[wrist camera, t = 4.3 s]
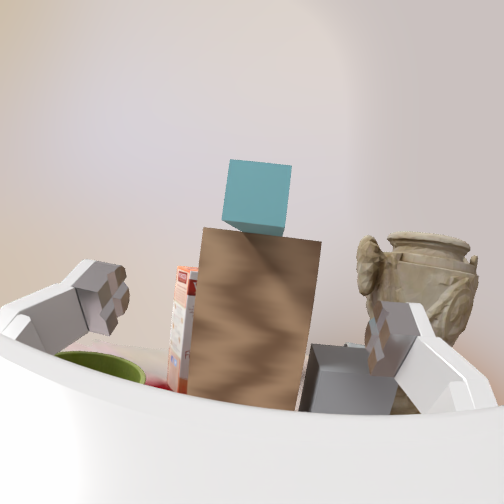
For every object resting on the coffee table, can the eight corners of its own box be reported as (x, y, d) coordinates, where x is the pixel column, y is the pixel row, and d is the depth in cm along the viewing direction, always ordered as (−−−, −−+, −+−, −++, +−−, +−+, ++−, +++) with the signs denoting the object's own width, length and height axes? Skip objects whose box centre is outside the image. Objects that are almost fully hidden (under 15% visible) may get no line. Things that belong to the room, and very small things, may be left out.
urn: (409, 391, 55) (437, 246, 55) (471, 427, 37) (512, 249, 37) (305, 404, 49) (334, 226, 49) (360, 464, 32) (412, 221, 31)
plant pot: (144, 434, 34) (145, 356, 34) (149, 496, 23) (146, 406, 23) (56, 423, 30) (49, 343, 30) (35, 480, 19) (13, 386, 19)
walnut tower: (182, 491, 25) (203, 227, 24) (206, 435, 37) (227, 235, 36) (271, 505, 24) (321, 241, 24) (274, 445, 36) (307, 245, 36)
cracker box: (178, 400, 45) (189, 269, 45) (166, 384, 50) (175, 264, 50) (252, 391, 53) (268, 275, 53) (235, 378, 58) (249, 270, 58)
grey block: (286, 507, 24) (321, 370, 24) (286, 464, 32) (311, 343, 32) (353, 507, 23) (400, 375, 23) (342, 466, 31) (374, 348, 31)
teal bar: (221, 219, 15) (230, 159, 15) (256, 240, 41) (259, 217, 41) (284, 227, 15) (291, 165, 15) (280, 243, 41) (283, 219, 41)
